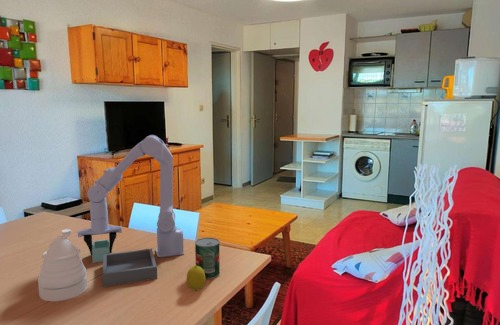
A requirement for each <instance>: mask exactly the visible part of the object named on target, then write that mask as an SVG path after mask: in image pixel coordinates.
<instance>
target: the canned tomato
mask: <svg viewBox="0 0 500 325" xmlns="http://www.w3.org/2000/svg"><path fill="white" fill-rule="evenodd" d="M194 244H195V245H194V246H195V247H194V248H195V249H194V250H195V257H194V258H195V265H197V266H199V267H201V268H202V269H203V270H204V273H205V280H211V279H214V278H217V277H219V276H220V273H221V272H220V267H221V266H220V240H219V239H218V238H214V237H202V238H198V239H197V240H195V243H194Z"/></svg>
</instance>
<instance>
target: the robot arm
mask: <svg viewBox="0 0 500 325" xmlns="http://www.w3.org/2000/svg"><path fill="white" fill-rule="evenodd" d="M146 155H147V156H149V157H151V158H154V159H155V160H156V161H157V162H158V163H159V165H160V166H159V168H160V171H159V172H160V174H159V178H160V179H159V184H160V185H159V188H160V189H159V190H160V191H159V198H160V199H159V214H158V217H157V218H158V219H157V222H156V226H157V228H156V244H157V246H156V247H157V248H155V252H156V253H155V254H156V255H157V256H156V258H167V257H173V256H181V255H184V254H185V253H184V251H185V250H184V233H183V229H182V228H181V227H179V228H177V226H176V223H175V222H176V213H175V212H174V203H173V202H174V200H173V198H174V196H173V194H174V156H173V154H172V152H171V151H170V150H169V148H168V147H167V145H166V143H165V142H164V140H162V139H161V138H160V137H158V136H157V135H155V134H150V135H148V136H146V137H145V138H143V139H142V140H141V141H140V142H138V143H137V144H136V145H135V146H134V147H132V148H131V149H130V151H128V153H127V154H126V155H124V157H123V158H122V159H121V161H120V162H119V163H118V164H117V165H116V166H115V167H108V168H106V169H105V170H104V171H103V174H102V175H101V176H100V178H98V179H96V180H95V181H94V184H93V185H91V186H90V187H89V188H88V191H87V194H86V195H87V198H88V200H89V213H90V215H89V216H90V228H86V229H85V228H84V229H80V230H77V238H82V237H83V241H84V242H85V244H86V246H87V247H88V250H89V254H90V256H92V245H93V236H96V235H97V236H98V235H107V234H108V236H109V237H108V238H109V239H108V240H109V243H110V254H112V253H113V245H114V242H115V240H116V239H117V234H120V233H122V230H123V229H122V225H116V226H115V225H112V226H109V212H108V210H109V209H108V203H107V196H108V194H109V192H111V191H112V190H113V189H114V188H115V187H116V186H117V185H118V184H119V183H120V182H121V181H122V180H123V173H124V172H125V171H126V170H127V169H128V168H129V167H130V166H131V165H132V164H133V163H134V162H135V161H136V160H137V159H139V158H142V157H145V156H146Z"/></svg>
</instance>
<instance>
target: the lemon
mask: <svg viewBox="0 0 500 325" xmlns="http://www.w3.org/2000/svg"><path fill="white" fill-rule="evenodd" d="M205 283H206V279H205V273H204V270H203V269H202V268H201V267H199V266H197V265H196V264H195V265H193V266H192V267H190V268H189V269H188V271H187V274H186V284H187V286H188V288H189V289H190V290H192V291H194V292H198V291H199V290H201V289H202V288H203V286H204V285H205Z"/></svg>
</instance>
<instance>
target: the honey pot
mask: <svg viewBox="0 0 500 325" xmlns="http://www.w3.org/2000/svg"><path fill="white" fill-rule="evenodd" d="M61 234H62V236H61V235H60V236H57V237H55V238H54V239H53V240H52V242H51V243H50V245H49V246H48V248H47V250H46V251H45V252H43V253H42V256H41V257H42V259H43V261H42V264H41V265H40V271H39V275H38V277H37V282H38V295H39V298H40V299H41V300H43V301H45V302H47V301H48V302H61V301H66V300H71V299H74V298H76V297H77V296H80V295H81V294H82V293H85V291H86V290H87V288H88V278H87V268H86V267H85V265H84V263H83V259H82V258H81V257H80V255H79V254H80V253H81V249H80V248H79V247H78V246H76V245H75V246H74V244H73V243H72V242H71V241H70V240H69V239H68V237H70V235H71V234H72V229H70V228H69V229H68V228H66V229H63V230H61Z"/></svg>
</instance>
